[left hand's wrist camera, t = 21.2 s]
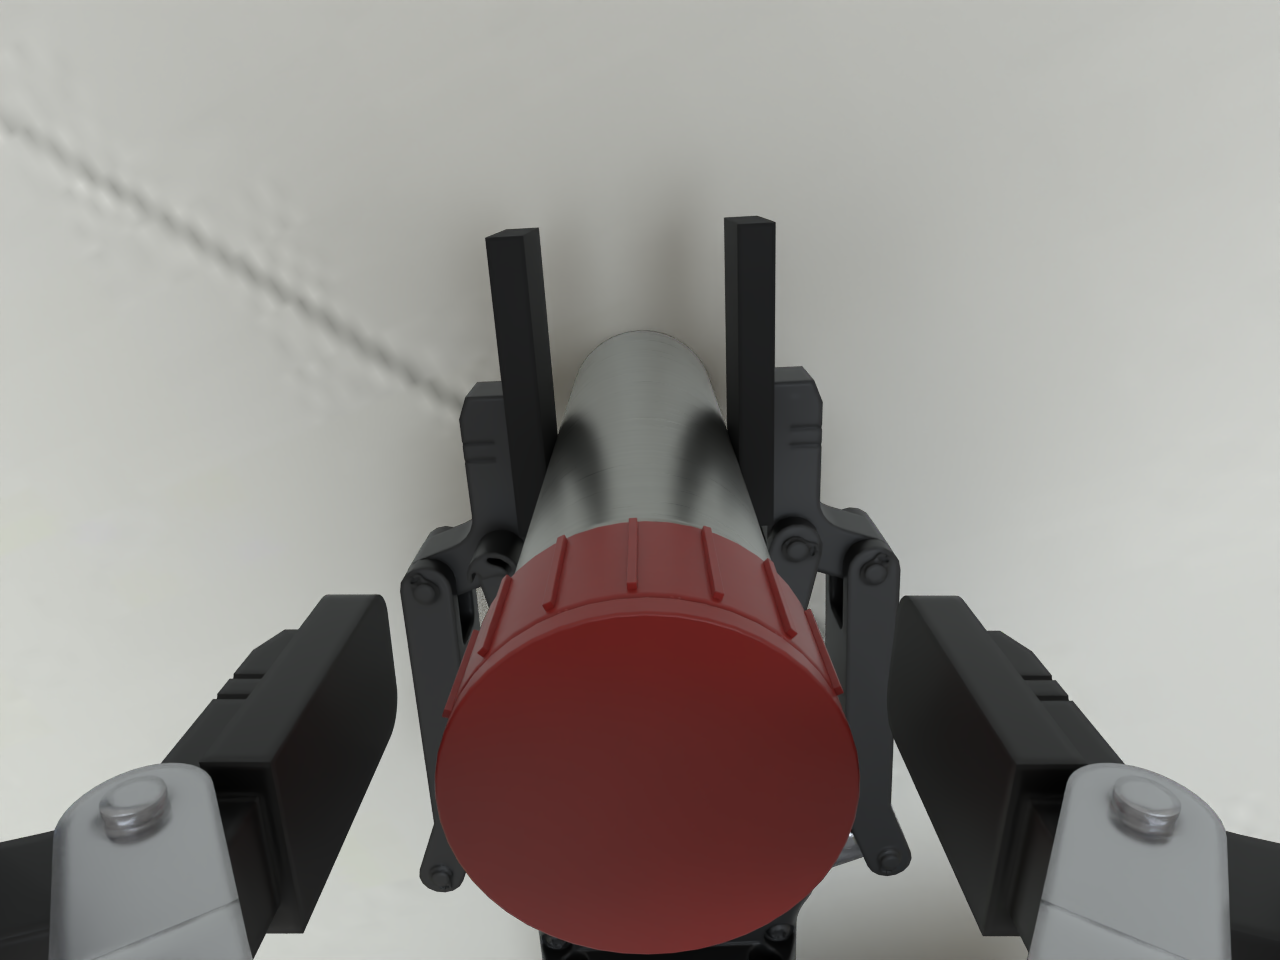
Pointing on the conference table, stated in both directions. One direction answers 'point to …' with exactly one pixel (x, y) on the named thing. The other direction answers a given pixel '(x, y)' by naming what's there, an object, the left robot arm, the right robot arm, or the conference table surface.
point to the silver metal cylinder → (643, 449)
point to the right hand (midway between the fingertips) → (630, 228)
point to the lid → (646, 743)
